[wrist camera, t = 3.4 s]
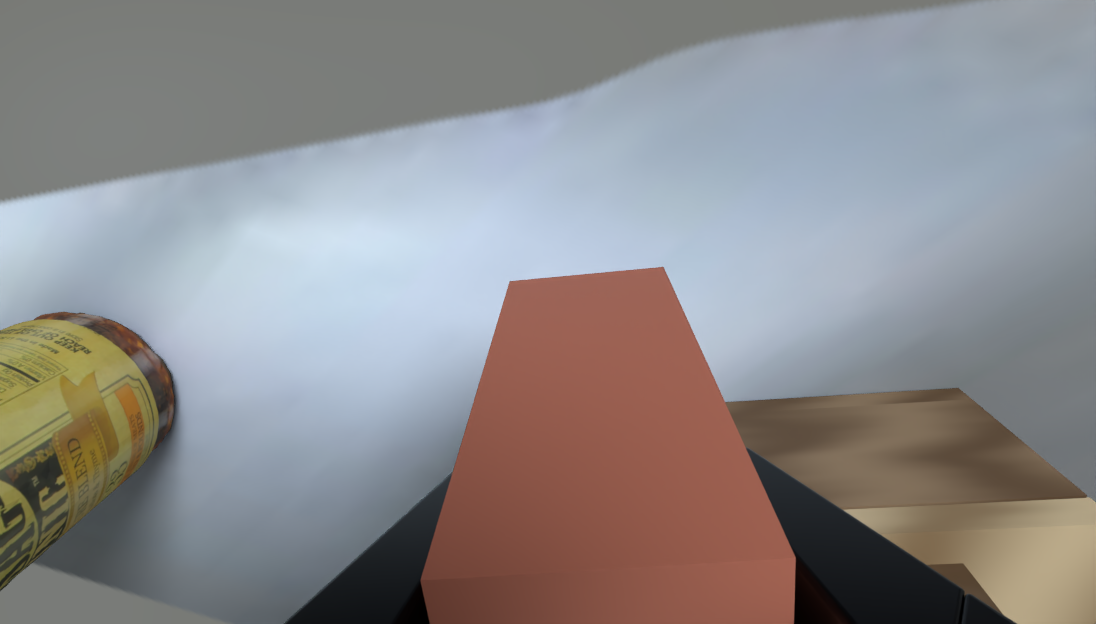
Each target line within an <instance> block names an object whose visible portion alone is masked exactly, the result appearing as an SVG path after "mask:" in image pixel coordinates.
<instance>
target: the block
mask: <svg viewBox="0 0 1096 624" xmlns="http://www.w3.org/2000/svg"><path fill="white" fill-rule="evenodd" d="M795 566H796V557H795V555H794V553H793V551H792V548H791V546H790V544H789V542H788V540H787V538H786V535H785V533H784V531H783V529H782V527H781V524H780V522H779V520H778V518H777V516H776V513H775V511H774V509H773V507H772V505H771V502H770V500H769V498H768V496H767V494H766V491H765V489H764V487H763V485H762V483H761V480H760V478H759V476H758V474H757V472H756V469H755V467H754V465H753V463H752V461H751V458H750V456H749V454H748V452H747V450H746V447H745V445H744V443H743V441H742V439H741V436H740V434H739V432H738V430H737V428H736V425H735V423H734V421H733V419H732V417H731V414H730V412H729V410H728V408H727V406H726V403H725V401H724V399H723V397H722V395H721V393H720V390H719V388H718V386H717V384H716V382H715V379H714V377H713V375H712V373H711V371H710V368H709V366H708V364H707V362H706V360H705V357H704V355H703V353H702V351H701V349H700V346H699V344H698V342H697V340H696V338H695V335H694V333H693V331H692V329H691V327H690V324H689V322H688V320H687V318H686V316H685V313H684V311H683V309H682V307H681V305H680V302H679V300H678V298H677V296H676V294H675V291H674V289H673V287H672V285H671V283H670V280H669V278H668V276H667V274H666V272H665V269H664V267H658V268H648V269H637V270H626V271H615V272H605V273H594V274H583V275H573V276H562V277H551V278H540V279H530V280H519V281H510V282H509V286H508V289H507V292H506V296H505V299H504V302H503V306H502V309H501V312H500V316H499V319H498V322H497V326H496V329H495V332H494V336H493V339H492V342H491V346H490V349H489V352H488V356H487V359H486V363H485V366H484V369H483V373H482V376H481V379H480V383H479V386H478V389H477V393H476V396H475V399H474V403H473V406H472V409H471V413H470V416H469V419H468V423H467V426H466V429H465V433H464V436H463V439H462V443H461V446H460V450H459V453H458V456H457V460H456V463H455V466H454V470H453V473H452V476H451V480H450V483H449V486H448V490H447V493H446V496H445V500H444V503H443V506H442V510H441V513H440V516H439V520H438V523H437V526H436V530H435V533H434V537H433V540H432V543H431V547H430V550H429V553H428V557H427V560H426V563H425V567H424V570H423V573H422V577H421V580H420V581H421V586H422V590H423V595H424V599H425V604H426V608H427V613H428V617H429V622H430V624H794V603H795Z"/></svg>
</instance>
